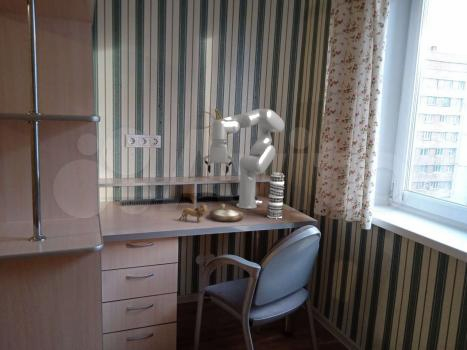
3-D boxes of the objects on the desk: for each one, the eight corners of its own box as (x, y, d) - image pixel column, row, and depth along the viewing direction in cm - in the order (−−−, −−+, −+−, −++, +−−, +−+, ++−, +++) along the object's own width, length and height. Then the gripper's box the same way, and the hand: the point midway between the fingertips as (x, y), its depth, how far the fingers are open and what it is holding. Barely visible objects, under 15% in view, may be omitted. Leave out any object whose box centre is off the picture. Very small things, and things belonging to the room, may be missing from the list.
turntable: (236, 211, 210) (237, 203, 210) (247, 220, 193) (247, 211, 193) (206, 212, 205) (206, 204, 204) (214, 221, 188) (214, 212, 187)
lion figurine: (207, 220, 193) (207, 203, 191) (206, 223, 187) (207, 206, 186) (179, 219, 193) (179, 202, 191) (177, 222, 187) (178, 204, 186)
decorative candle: (263, 215, 208) (265, 172, 204) (275, 214, 213) (278, 171, 209) (273, 219, 200) (276, 174, 197) (286, 218, 206) (289, 173, 202)
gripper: (234, 142, 207) (233, 172, 210) (204, 141, 208) (203, 171, 210) (234, 143, 200) (233, 174, 202) (202, 142, 200) (201, 173, 203)
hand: (218, 173), depth 206 cm, fingers open, 9 cm apart
